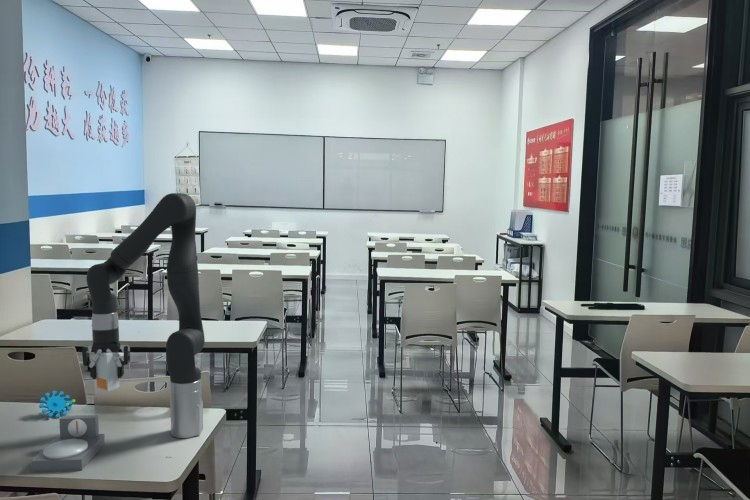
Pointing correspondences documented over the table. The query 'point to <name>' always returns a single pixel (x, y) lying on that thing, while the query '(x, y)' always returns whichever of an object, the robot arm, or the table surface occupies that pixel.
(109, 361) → the skincare box
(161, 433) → the table surface
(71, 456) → the dial scale
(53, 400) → the gear
